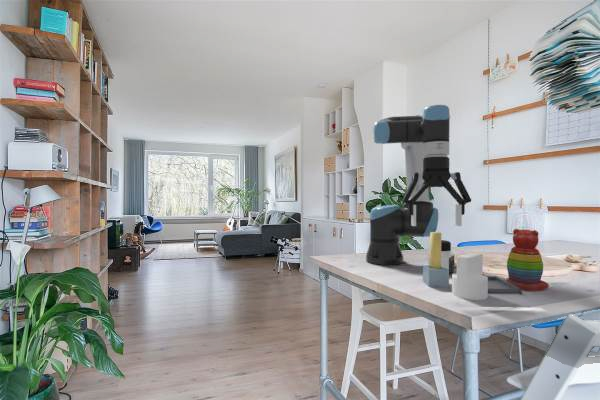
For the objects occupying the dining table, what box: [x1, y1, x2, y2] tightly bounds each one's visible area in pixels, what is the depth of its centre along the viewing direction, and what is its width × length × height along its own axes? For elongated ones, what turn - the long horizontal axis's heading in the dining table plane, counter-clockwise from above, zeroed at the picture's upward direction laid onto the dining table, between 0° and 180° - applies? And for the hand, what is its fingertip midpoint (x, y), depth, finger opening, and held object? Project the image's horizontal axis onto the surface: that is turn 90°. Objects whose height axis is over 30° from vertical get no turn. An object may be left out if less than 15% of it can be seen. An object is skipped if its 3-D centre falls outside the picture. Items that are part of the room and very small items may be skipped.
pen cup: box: [422, 264, 450, 288], centre depth 108 cm, size 6×6×6 cm
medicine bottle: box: [427, 239, 455, 276], centre depth 122 cm, size 7×7×12 cm
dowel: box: [429, 231, 442, 269], centre depth 108 cm, size 3×3×16 cm
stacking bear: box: [506, 228, 549, 292], centre depth 106 cm, size 11×10×18 cm
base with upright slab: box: [451, 252, 489, 301], centre depth 97 cm, size 9×9×12 cm
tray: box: [485, 275, 523, 296], centre depth 105 cm, size 14×10×2 cm
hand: (436, 225), depth 107 cm, fingers open, 13 cm apart
